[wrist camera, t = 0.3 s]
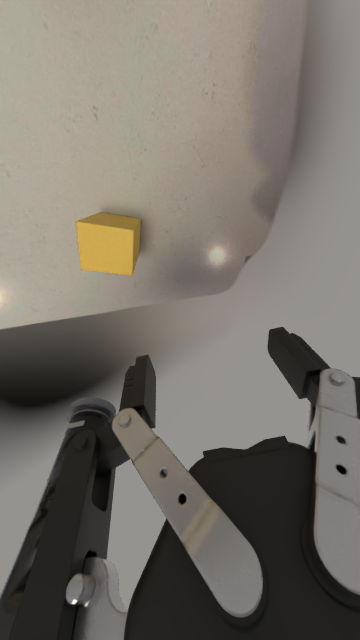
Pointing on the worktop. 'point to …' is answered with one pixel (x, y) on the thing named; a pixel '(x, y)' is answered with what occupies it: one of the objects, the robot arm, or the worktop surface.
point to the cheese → (109, 243)
